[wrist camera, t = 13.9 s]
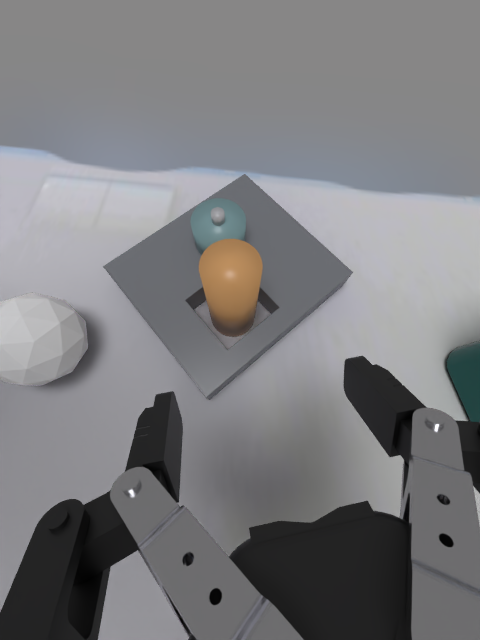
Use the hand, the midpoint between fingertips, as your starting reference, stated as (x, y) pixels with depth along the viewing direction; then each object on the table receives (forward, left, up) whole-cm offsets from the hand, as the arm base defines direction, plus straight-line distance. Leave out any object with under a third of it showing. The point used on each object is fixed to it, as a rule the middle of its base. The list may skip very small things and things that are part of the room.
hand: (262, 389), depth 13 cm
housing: (+6, +11, -14) cm, 19 cm away
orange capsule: (+4, +8, -14) cm, 16 cm away
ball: (-11, +16, -14) cm, 24 cm away
